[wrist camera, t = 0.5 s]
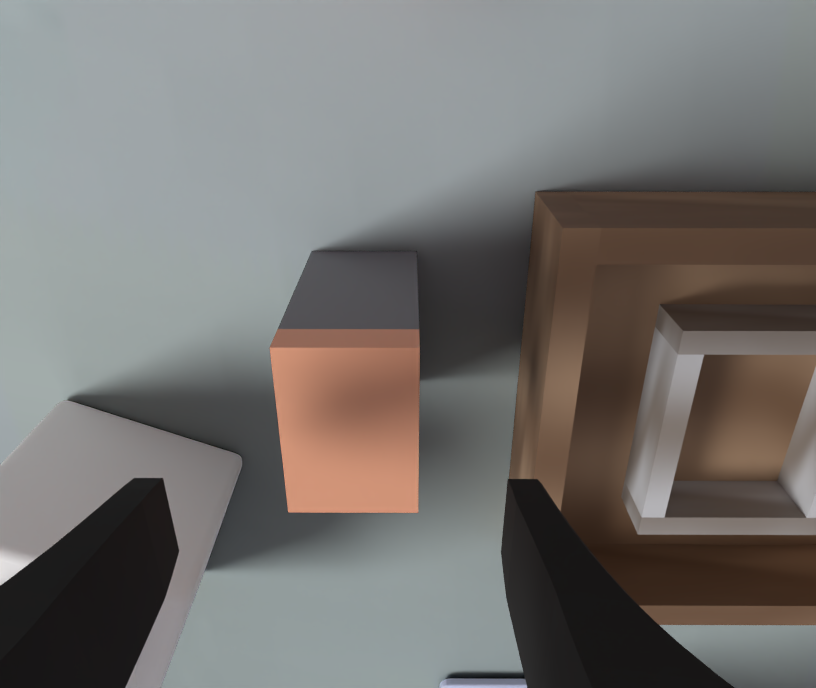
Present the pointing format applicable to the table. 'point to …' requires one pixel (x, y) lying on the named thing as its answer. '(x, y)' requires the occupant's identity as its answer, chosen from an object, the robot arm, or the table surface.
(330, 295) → the rectangular block
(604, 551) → the walled box
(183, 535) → the medicine bottle
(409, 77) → the table surface
